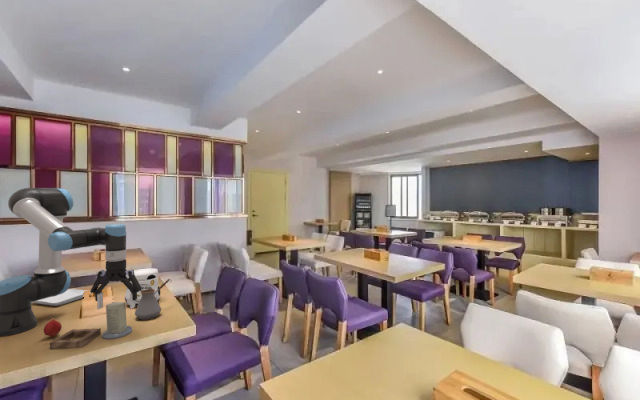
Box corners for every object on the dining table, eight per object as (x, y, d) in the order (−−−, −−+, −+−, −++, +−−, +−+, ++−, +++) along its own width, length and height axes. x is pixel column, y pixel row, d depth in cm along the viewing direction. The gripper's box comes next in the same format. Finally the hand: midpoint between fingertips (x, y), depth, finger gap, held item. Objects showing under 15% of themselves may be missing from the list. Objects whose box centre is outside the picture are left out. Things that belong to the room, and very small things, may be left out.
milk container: (136, 310, 161) (135, 276, 161) (118, 305, 169) (117, 272, 169) (166, 300, 176) (166, 269, 175) (149, 296, 184) (148, 266, 184)
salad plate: (28, 305, 172) (28, 299, 172) (69, 293, 192) (69, 288, 192) (55, 309, 166) (55, 302, 166) (94, 296, 186) (94, 290, 186)
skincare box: (127, 329, 136) (126, 301, 136) (120, 333, 132) (119, 305, 132) (113, 328, 137) (112, 301, 136) (106, 333, 132) (105, 305, 132)
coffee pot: (148, 322, 146) (148, 291, 146) (129, 320, 149) (128, 289, 149) (179, 306, 167) (179, 279, 166) (161, 304, 169) (161, 277, 169)
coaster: (96, 339, 128) (96, 337, 128) (112, 328, 139) (111, 326, 139) (123, 338, 129) (123, 336, 129) (137, 327, 140) (137, 325, 140)
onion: (40, 341, 128) (40, 322, 128) (48, 335, 133) (48, 316, 133) (57, 339, 129) (56, 320, 129) (64, 333, 135) (64, 315, 135)
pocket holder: (49, 349, 121) (49, 342, 121) (71, 335, 133) (71, 329, 133) (81, 347, 122) (81, 341, 122) (100, 334, 134) (100, 328, 134)
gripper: (79, 261, 129) (80, 311, 130) (141, 261, 131) (141, 310, 131) (91, 258, 137) (92, 305, 137) (149, 257, 138) (150, 304, 139)
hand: (116, 307), depth 134 cm, fingers open, 13 cm apart
